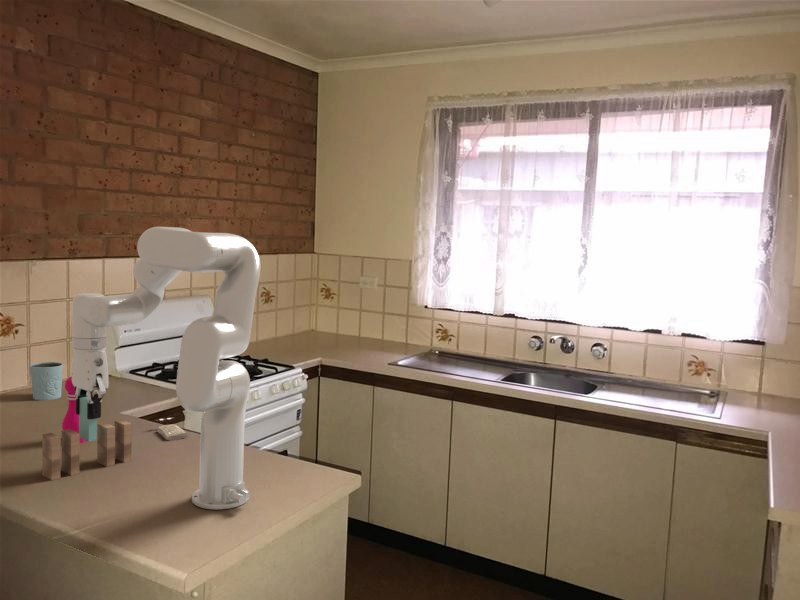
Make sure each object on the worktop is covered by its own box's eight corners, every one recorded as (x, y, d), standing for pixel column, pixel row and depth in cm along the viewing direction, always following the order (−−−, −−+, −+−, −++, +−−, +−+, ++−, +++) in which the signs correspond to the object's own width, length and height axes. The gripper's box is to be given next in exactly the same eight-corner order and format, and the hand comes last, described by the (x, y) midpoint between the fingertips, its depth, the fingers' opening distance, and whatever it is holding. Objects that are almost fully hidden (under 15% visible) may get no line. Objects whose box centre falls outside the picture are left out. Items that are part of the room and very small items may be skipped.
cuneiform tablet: (174, 417, 202) (187, 427, 192) (174, 429, 202) (187, 440, 193) (154, 419, 199) (167, 430, 189) (154, 432, 199) (167, 443, 189)
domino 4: (114, 465, 170) (115, 426, 169) (107, 466, 168) (107, 428, 167) (104, 460, 173) (105, 422, 172) (97, 462, 171) (97, 424, 171)
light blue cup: (64, 400, 229) (65, 366, 228) (31, 403, 223) (31, 368, 222) (60, 394, 237) (60, 361, 236) (28, 396, 231) (28, 362, 230)
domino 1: (60, 478, 159) (60, 437, 158) (51, 480, 158) (51, 439, 157) (50, 472, 162) (51, 432, 162) (42, 474, 161) (42, 434, 160)
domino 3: (96, 440, 166) (97, 400, 165) (88, 441, 164) (89, 401, 163) (86, 435, 169) (87, 396, 168) (79, 437, 167) (79, 397, 166)
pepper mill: (94, 441, 188) (95, 371, 186) (68, 446, 183) (68, 374, 181) (84, 435, 193) (84, 366, 191) (57, 439, 187) (58, 369, 186)
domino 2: (79, 473, 163) (79, 433, 162) (71, 475, 161) (71, 435, 160) (69, 468, 166) (69, 429, 165) (61, 470, 164) (61, 430, 164)
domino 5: (131, 461, 173) (131, 423, 173) (124, 462, 172) (124, 424, 171) (121, 456, 177) (121, 419, 176) (114, 458, 175) (114, 420, 174)
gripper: (121, 347, 162) (120, 420, 164) (87, 337, 173) (86, 406, 174) (91, 350, 156) (90, 426, 158) (57, 340, 167) (57, 411, 168)
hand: (88, 415), depth 166 cm, fingers closed on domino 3, 4 cm apart
